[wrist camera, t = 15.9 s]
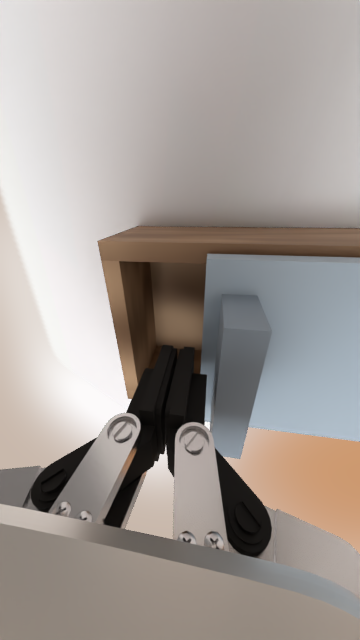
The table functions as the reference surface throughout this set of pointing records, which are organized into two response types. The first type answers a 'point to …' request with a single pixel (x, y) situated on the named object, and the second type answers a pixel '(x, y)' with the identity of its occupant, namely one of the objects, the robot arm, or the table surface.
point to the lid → (281, 347)
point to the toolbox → (187, 280)
